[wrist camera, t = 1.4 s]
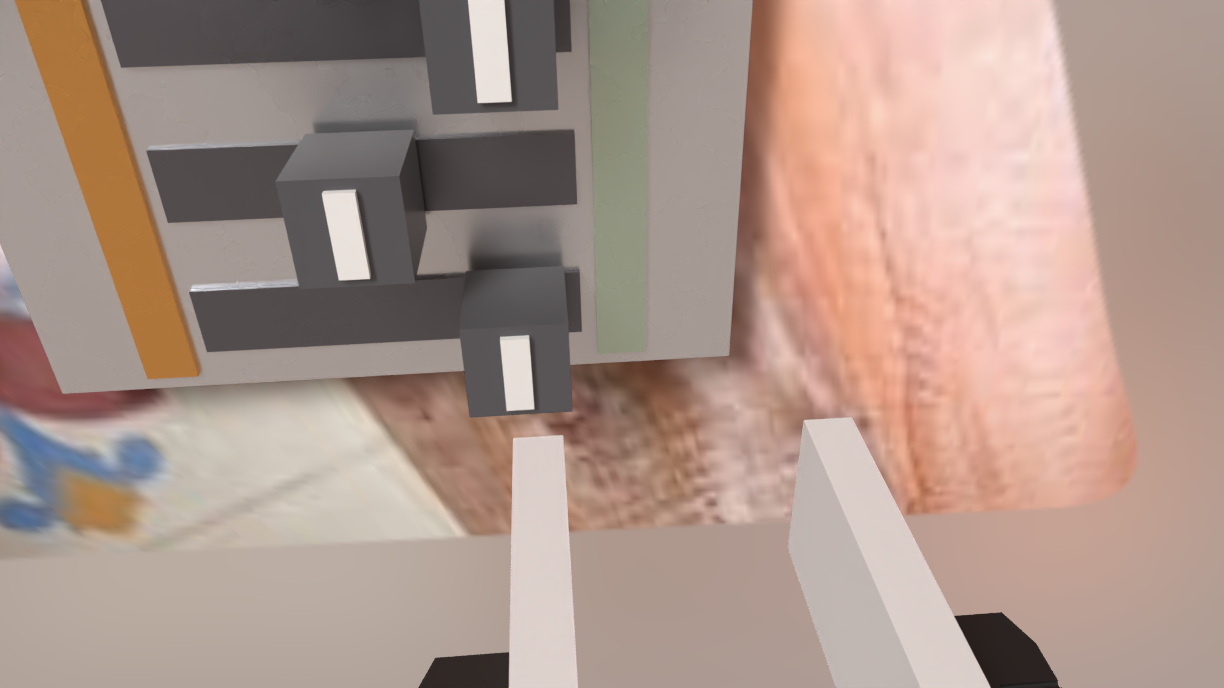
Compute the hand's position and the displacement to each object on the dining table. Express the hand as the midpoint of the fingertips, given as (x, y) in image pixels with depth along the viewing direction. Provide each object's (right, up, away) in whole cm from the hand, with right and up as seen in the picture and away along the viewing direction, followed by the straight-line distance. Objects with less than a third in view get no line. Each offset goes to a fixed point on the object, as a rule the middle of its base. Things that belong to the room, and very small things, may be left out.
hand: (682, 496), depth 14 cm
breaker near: (-4, +11, +9) cm, 15 cm away
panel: (-8, +8, +14) cm, 18 cm away
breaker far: (-4, +4, +14) cm, 15 cm away
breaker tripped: (-8, +7, +11) cm, 16 cm away
